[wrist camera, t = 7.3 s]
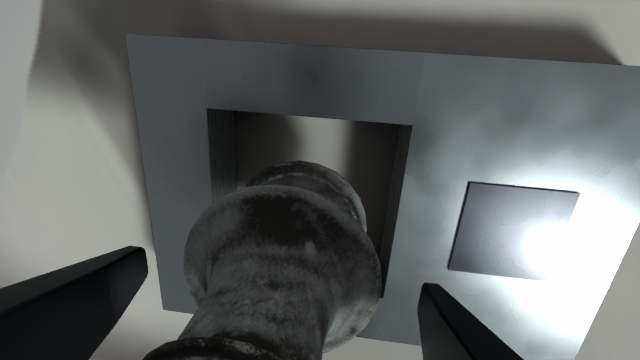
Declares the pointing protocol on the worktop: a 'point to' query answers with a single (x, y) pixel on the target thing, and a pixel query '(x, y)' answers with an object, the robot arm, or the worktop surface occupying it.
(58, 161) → the worktop surface
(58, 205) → the worktop surface
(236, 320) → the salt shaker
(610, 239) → the grey flat block
